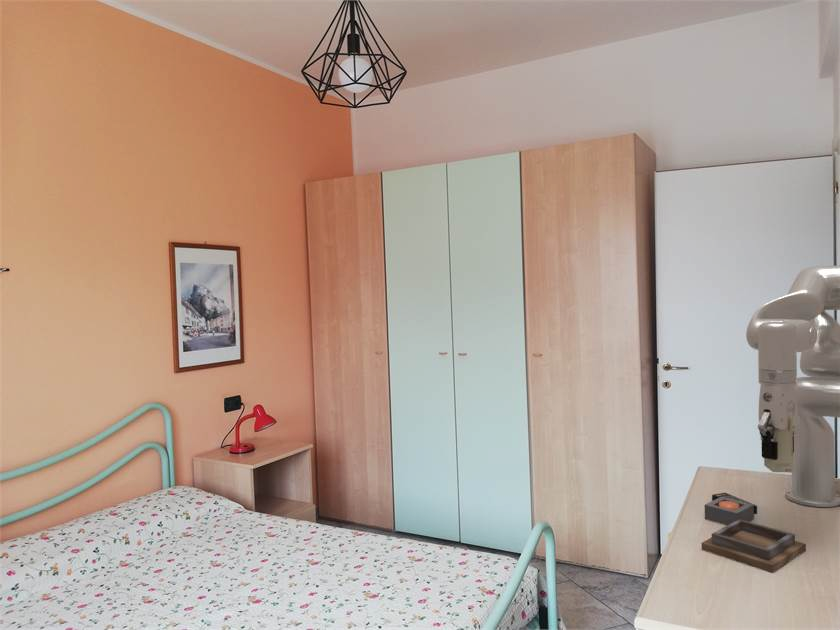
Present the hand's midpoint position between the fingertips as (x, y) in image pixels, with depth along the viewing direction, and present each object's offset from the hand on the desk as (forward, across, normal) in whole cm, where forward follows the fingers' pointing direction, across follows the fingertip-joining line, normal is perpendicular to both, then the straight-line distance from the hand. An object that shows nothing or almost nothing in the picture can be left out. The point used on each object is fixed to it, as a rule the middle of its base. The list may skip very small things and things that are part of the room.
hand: (777, 454), depth 146 cm
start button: (+17, +2, +12) cm, 21 cm away
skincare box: (+4, 0, 0) cm, 4 cm away
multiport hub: (+19, +10, +15) cm, 26 cm away
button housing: (+18, +2, +12) cm, 22 cm away
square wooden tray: (+19, -11, 0) cm, 22 cm away
